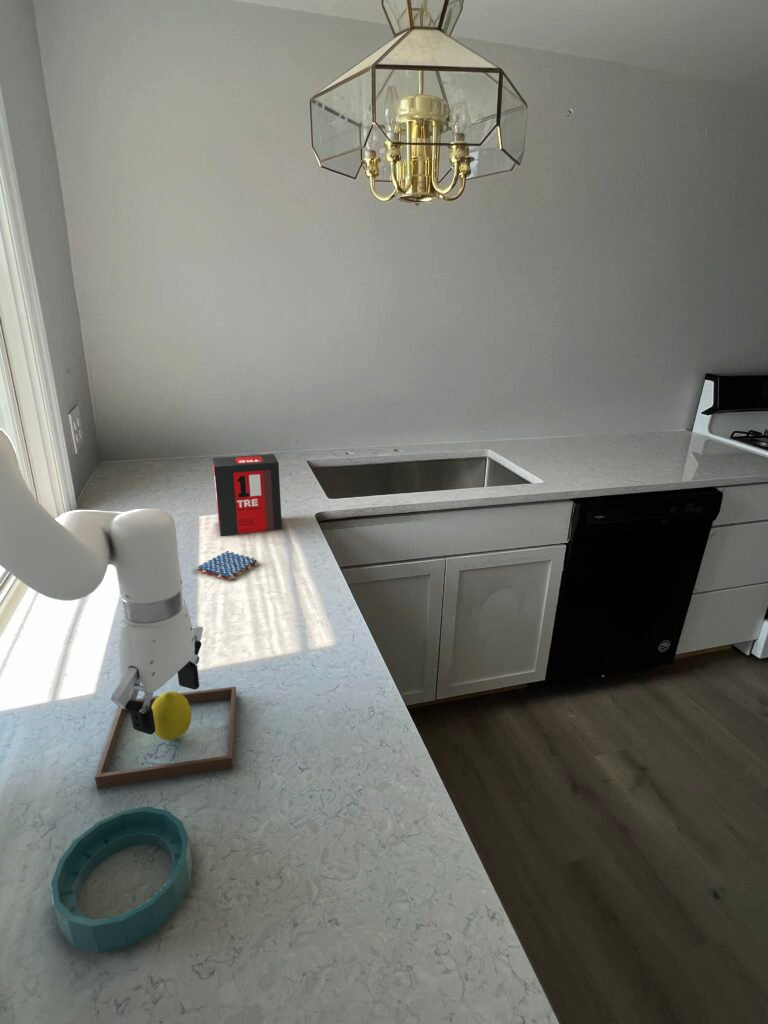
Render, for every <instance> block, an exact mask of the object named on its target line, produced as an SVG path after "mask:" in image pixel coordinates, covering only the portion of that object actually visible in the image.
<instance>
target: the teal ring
mask: <svg viewBox="0 0 768 1024" xmlns="http://www.w3.org/2000/svg"><path fill="white" fill-rule="evenodd" d="M183 823H184V822H183V821H182V820H181V819H180V818H178V817H176V816H175V815H174V813H173V814H172V813H171V812H170V811H169V810H167V809H162V808H156V807H152V806H151V807H150V806H142V807H136V808H130V809H124V810H123V809H122V810H120V811H118V812H117V813H114V814H112V815H109V816H107V817H105V818H103V819H101V820H98V821H97V822H95V823H94V824H93V825H91V826H90V827H89V828H88V829H86V830H84V832H83V833H81V834H79V836H77V837H76V838H75V839H74V840H73V842H72V843H71V844H70V845H69V847H68V848H67V850H65V852H64V853H63V854H62V856H61V857H60V859H59V860H58V863H57V865H56V868H55V871H54V873H53V876H52V879H51V882H50V890H51V898H52V905H53V909H54V913H55V916H56V920H57V923H58V926H59V930H60V932H61V934H62V935H63V936H64V937H65V938H66V939H67V940H68V941H69V942H70V943H71V944H72V945H73V946H74V947H75V948H76V949H79V950H80V949H81V950H85V951H89V952H93V953H97V954H98V953H99V954H100V953H101V954H102V953H106V952H111V951H116V950H120V949H126V948H129V947H131V946H133V945H134V944H136V943H138V942H140V941H142V940H143V939H145V938H147V937H148V936H150V935H153V933H155V932H156V931H158V929H160V928H161V927H162V926H163V924H164V923H165V922H167V920H168V919H170V917H171V916H172V915H173V914H175V912H176V911H177V910H178V909H179V907H180V905H181V903H182V901H183V899H184V898H185V895H186V893H187V892H188V890H189V888H190V886H191V879H192V872H193V871H192V870H193V858H192V852H191V845H190V839H189V836H188V833H187V831H186V828H185V826H184V824H183ZM144 845H146V846H152V847H158V848H160V849H161V850H163V851H164V852H165V853H166V854H168V855H169V856H170V857H171V860H172V866H171V871H170V875H169V876H168V878H167V880H166V882H165V884H164V885H162V887H161V888H160V889H159V890H158V891H157V892H156V893H155V894H154V895H153V896H151V898H149V899H148V901H145V902H144V903H142V904H140V905H139V906H137V907H136V906H135V908H133V909H131V910H129V911H127V912H125V913H123V914H119V915H115V916H109V917H104V918H100V919H97V918H92V917H88V916H87V915H86V914H85V913H84V912H83V911H82V910H81V909H80V908H79V903H78V902H79V900H80V895H81V893H82V889H83V887H84V885H85V883H86V882H87V880H88V879H89V877H90V875H91V874H92V873H93V871H94V870H96V868H97V867H99V866H100V865H101V864H103V862H105V861H106V860H107V859H108V858H109V857H110V856H112V855H115V854H116V853H119V852H122V851H123V850H125V849H127V848H131V847H138V846H144Z"/></svg>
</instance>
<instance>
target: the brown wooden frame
mask: <svg viewBox="0 0 768 1024" xmlns="http://www.w3.org/2000/svg"><path fill="white" fill-rule="evenodd" d="M179 693H180V692H179ZM180 694H182V695H183V696H184V697H185V698H186V699H187V701H188V703H189V705H194V704H201V703H202V704H203V703H211V702H219V701H226V700H230V711H229V713H230V714H229V727H228V741H227V742H228V743H227V745H228V746H227V755H222V756H216V757H215V756H214V757H208V758H201V759H194V760H193V759H192V760H186V761H180V762H173V763H165V764H158V765H152V766H145V767H144V766H143V767H137V768H132V769H123V770H116V771H109V767H110V764H111V761H112V759H113V758H112V757H113V754H114V752H115V748H116V745H117V742H118V739H119V736H120V733H121V729H122V726H123V723H124V719H125V716H126V714H127V713H128V712H130V711H129V710H126V709H122V708H119V707H117V711H116V714H115V716H114V720H113V723H112V726H111V729H110V732H109V735H108V737H107V740H106V744H105V746H104V749H103V752H102V756H101V758H100V762H99V764H98V767H97V770H96V773H95V776H94V781H95V785H96V789H97V790H98V789H102V788H103V789H105V788H112V787H118V786H119V787H120V786H125V785H132V784H138V783H145V782H151V781H158V780H164V779H171V778H173V779H174V778H178V777H184V776H185V777H186V776H191V775H199V774H205V773H212V772H213V773H214V772H219V771H226V770H232V769H234V761H235V760H234V758H235V741H236V740H235V739H236V736H235V735H236V719H237V718H236V717H237V701H238V700H237V697H238V695H237V687H236V686H228V687H221V688H213V689H204V690H196V691H195V690H194V691H188V692H181V693H180ZM159 696H160V695H154V696H153V695H152V698H151V701H150V704H149V707H150V708H151V707H152V705H153V703H154V701H155V700H156V699H157V698H158V697H159ZM142 698H143V697H137V698H136V701H138V702H141V700H142ZM108 771H109V772H108Z"/></svg>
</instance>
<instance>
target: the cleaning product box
mask: <svg viewBox="0 0 768 1024" xmlns="http://www.w3.org/2000/svg"><path fill="white" fill-rule="evenodd" d="M279 464H280V463H279V461H278V459H277V457H276V455H275V453H272V454H271V453H268V454H254V455H240V456H239V455H238V456H224V457H223V456H221V457H212V468H213V477H214V490H215V499H216V510H217V520H218V529H219V536H220V537H225V536H235V535H244V534H253V533H263V532H272V531H274V532H275V531H282V530H283V521H282V519H283V518H282V502H281V501H282V500H281V483H280V465H279Z"/></svg>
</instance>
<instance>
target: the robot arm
mask: <svg viewBox="0 0 768 1024" xmlns="http://www.w3.org/2000/svg"><path fill="white" fill-rule="evenodd" d="M19 463H20V462H19V459H18V455H17V451H16V448H15V446H14V444H13V441H12V439H11V438H10V436H9V435H8V434H7V432H6V431H4V430H3V429H2V428H1V427H0V566H1V567H2V568H3V569H5V570H6V571H7V572H8V573H10V574H11V575H12V576H13V577H15V578H16V579H18V580H19V581H20V582H21V583H23V584H24V585H26V586H27V587H29V588H30V589H32V590H34V592H37V594H40V595H43V596H44V597H47V598H50V599H52V600H57V601H63V602H66V601H69V602H70V601H71V602H72V601H76V600H81V599H83V598H85V597H87V596H89V595H91V594H92V593H93V592H95V591H96V590H97V589H98V588H99V587H100V586H101V584H102V582H103V580H104V578H105V575H106V573H107V570H108V566H109V565H112V566H113V567H114V568H115V571H116V576H117V584H118V589H119V595H120V603H121V608H122V615H123V619H122V620H121V621H120V622H119V629H118V662H119V671H120V679H121V680H120V682H119V684H118V685H117V686H116V688H115V690H114V691H113V693H112V694H111V696H110V700H111V701H112V702H113V703H114V704H115V705H116V706H117V708H122V709H126V710H129V711H130V719H131V723H132V728H133V730H135V731H137V732H140V733H145V734H147V735H153V734H155V733H154V732H155V722H154V716H153V710H152V708H150V707H149V704H150V701H151V698H152V697H153V694H154V693H155V692H156V691H158V690H159V689H161V688H162V687H163V686H164V685H165V684H167V682H169V681H170V680H171V679H172V678H173V677H174V676H175V675H176V674H177V678H178V679H177V681H178V685H179V686H180V687H183V688H187V689H190V690H194V691H195V690H198V689H199V688H200V678H199V670H198V664H199V662H200V656H199V653H200V650H201V647H202V641H201V640H202V636H203V631H204V627H203V626H198V625H193V623H192V620H191V614H190V612H189V608H188V606H187V603H186V600H185V598H184V589H183V580H182V573H181V564H180V556H179V547H178V546H179V545H178V538H177V530H176V523H175V520H174V518H173V515H171V514H170V513H169V512H168V511H165V510H163V509H159V508H137V509H133V510H129V511H108V510H107V511H105V510H96V509H95V510H94V509H93V510H92V509H76V510H70V511H67V512H64V513H62V514H60V515H59V516H58V517H56V518H55V517H54V516H53V515H51V513H49V511H48V510H47V509H46V508H44V506H43V505H42V504H41V503H40V501H39V500H38V499H37V498H36V497H35V495H34V494H33V493H32V491H31V490H30V488H29V486H28V484H27V483H26V481H25V478H24V477H23V476H24V475H23V474H22V471H21V468H20V464H19ZM139 692H143V694H142V697H141V698H142V700H141V702H138V701H136V698H138V694H139Z"/></svg>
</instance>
